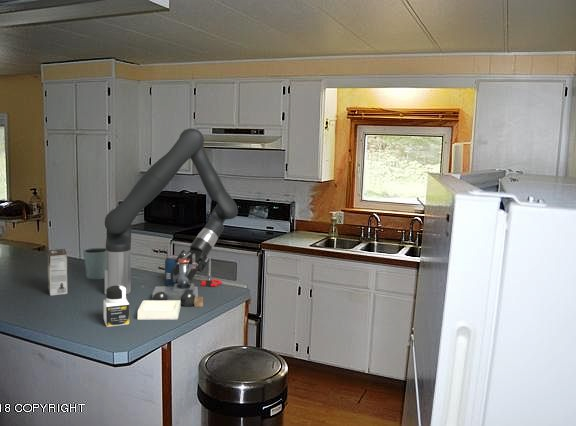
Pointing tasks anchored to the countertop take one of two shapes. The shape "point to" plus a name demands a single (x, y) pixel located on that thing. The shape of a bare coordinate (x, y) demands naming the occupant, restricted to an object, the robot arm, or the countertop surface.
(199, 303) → the block
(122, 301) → the medicine bottle
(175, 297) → the trolley
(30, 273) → the countertop surface
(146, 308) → the tray
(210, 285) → the tow hook
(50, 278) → the coffee box
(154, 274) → the countertop surface
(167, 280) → the soda can
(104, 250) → the teal cup
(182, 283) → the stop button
